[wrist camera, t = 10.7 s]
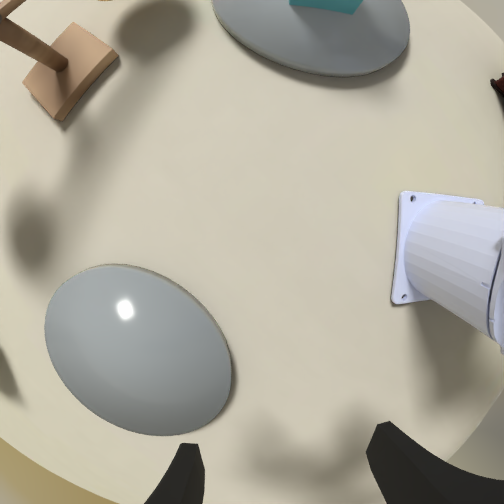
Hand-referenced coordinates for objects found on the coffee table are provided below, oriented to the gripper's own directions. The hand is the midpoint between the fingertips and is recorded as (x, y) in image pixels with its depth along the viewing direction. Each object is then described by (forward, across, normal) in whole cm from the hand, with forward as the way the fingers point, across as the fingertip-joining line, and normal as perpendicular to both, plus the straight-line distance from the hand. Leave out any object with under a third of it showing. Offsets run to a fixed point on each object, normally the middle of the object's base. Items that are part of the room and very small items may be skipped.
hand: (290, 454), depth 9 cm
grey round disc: (+10, +10, +2) cm, 14 cm away
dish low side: (+10, -4, -25) cm, 27 cm away
